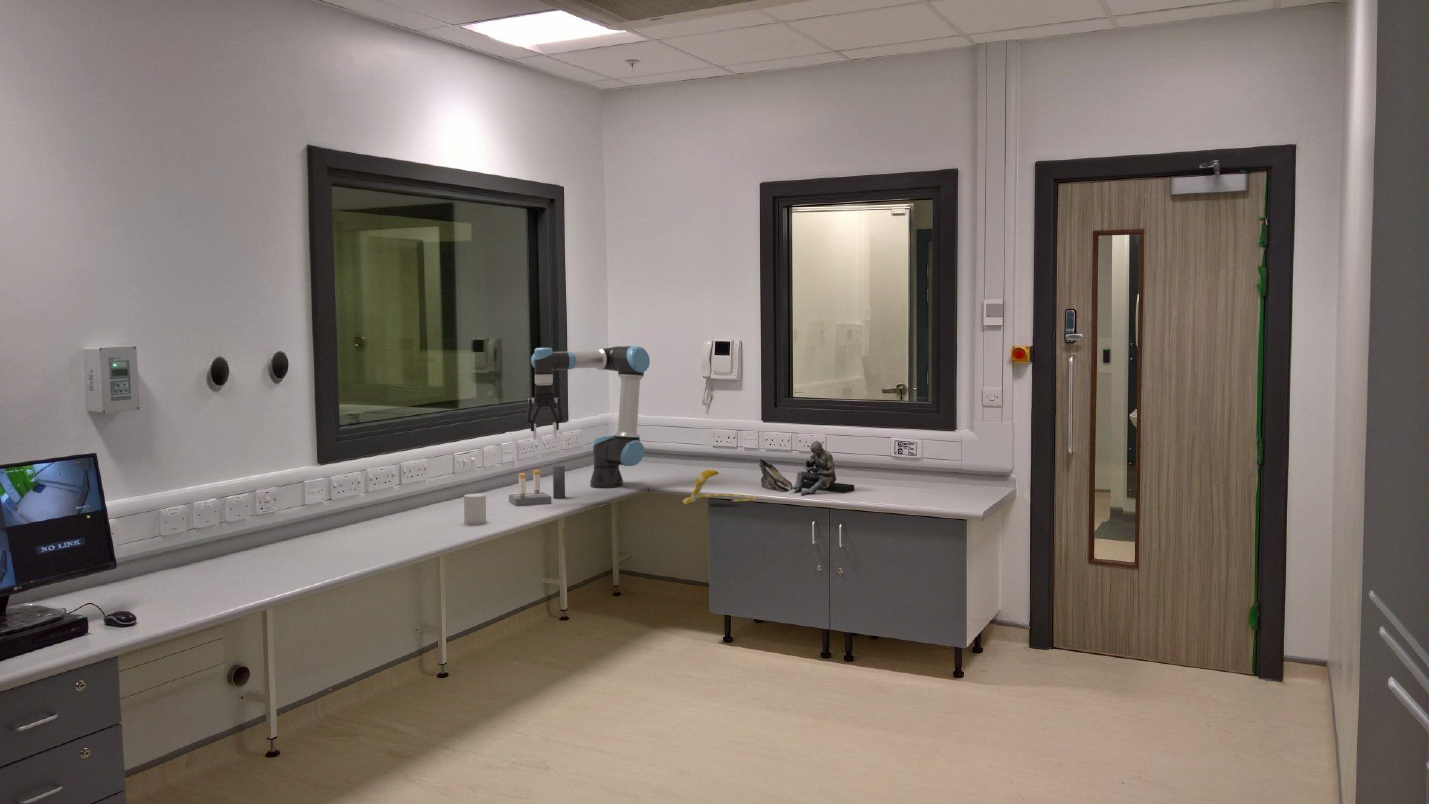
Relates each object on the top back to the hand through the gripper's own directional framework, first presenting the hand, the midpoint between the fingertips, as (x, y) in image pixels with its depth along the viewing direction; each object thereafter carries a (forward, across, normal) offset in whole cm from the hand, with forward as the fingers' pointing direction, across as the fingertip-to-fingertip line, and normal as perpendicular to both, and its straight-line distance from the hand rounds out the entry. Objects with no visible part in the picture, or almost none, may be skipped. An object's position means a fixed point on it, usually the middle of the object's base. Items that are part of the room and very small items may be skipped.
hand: (544, 438), depth 422 cm
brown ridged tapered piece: (+21, -92, +21) cm, 97 cm away
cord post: (+27, -8, -9) cm, 30 cm away
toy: (+28, -66, +31) cm, 78 cm away
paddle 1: (+23, +10, 0) cm, 25 cm away
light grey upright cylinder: (+30, +34, +25) cm, 52 cm away
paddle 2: (+23, +2, -8) cm, 25 cm away
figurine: (+28, -112, +32) cm, 119 cm away
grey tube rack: (+27, +6, -4) cm, 28 cm away
